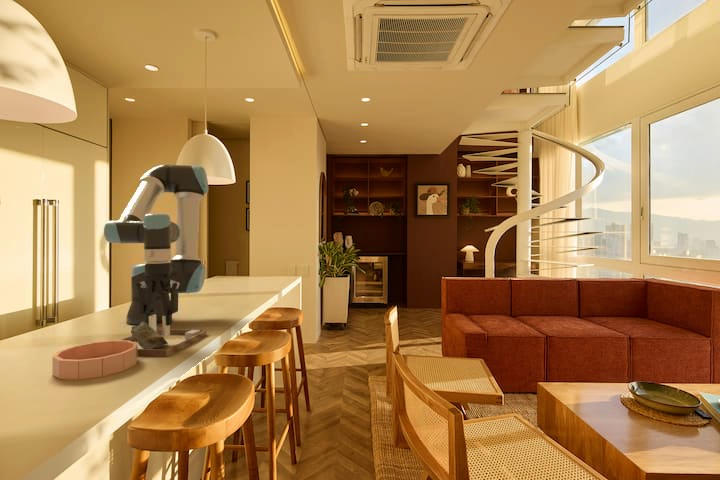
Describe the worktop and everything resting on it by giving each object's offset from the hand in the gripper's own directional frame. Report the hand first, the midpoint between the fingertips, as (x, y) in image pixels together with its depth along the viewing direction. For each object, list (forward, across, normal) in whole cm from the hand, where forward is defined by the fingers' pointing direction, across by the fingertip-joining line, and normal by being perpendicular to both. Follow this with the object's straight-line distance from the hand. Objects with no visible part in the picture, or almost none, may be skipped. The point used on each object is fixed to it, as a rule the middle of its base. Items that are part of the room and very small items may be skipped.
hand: (159, 335), depth 119 cm
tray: (+3, -1, 0) cm, 3 cm away
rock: (0, -2, -2) cm, 3 cm away
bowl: (+3, -4, -21) cm, 22 cm away
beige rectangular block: (+3, +7, +8) cm, 11 cm away
